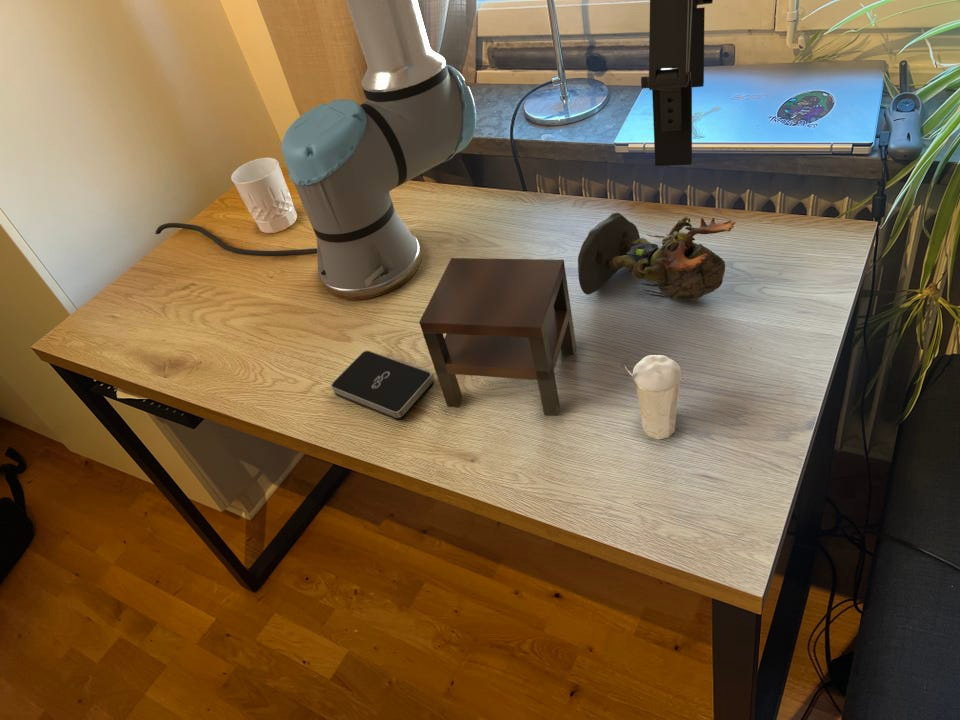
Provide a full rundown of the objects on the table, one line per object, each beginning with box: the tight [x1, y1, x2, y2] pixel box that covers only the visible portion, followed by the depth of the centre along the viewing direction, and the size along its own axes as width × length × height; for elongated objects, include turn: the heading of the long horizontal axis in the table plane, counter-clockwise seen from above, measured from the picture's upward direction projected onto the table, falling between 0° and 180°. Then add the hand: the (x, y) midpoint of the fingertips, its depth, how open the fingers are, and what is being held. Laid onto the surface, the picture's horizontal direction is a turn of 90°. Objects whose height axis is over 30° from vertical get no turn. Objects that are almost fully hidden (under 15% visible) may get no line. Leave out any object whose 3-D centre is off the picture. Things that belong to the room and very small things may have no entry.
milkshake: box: [623, 354, 683, 440], centre depth 71 cm, size 4×5×10 cm
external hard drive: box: [330, 349, 435, 422], centre depth 85 cm, size 7×11×2 cm, turn 56°
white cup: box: [230, 157, 298, 234], centre depth 118 cm, size 8×8×10 cm
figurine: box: [577, 212, 736, 302], centre depth 87 cm, size 14×10×18 cm
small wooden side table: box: [418, 257, 577, 417], centre depth 79 cm, size 13×11×13 cm
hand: (681, 122), depth 60 cm, fingers open, 13 cm apart
